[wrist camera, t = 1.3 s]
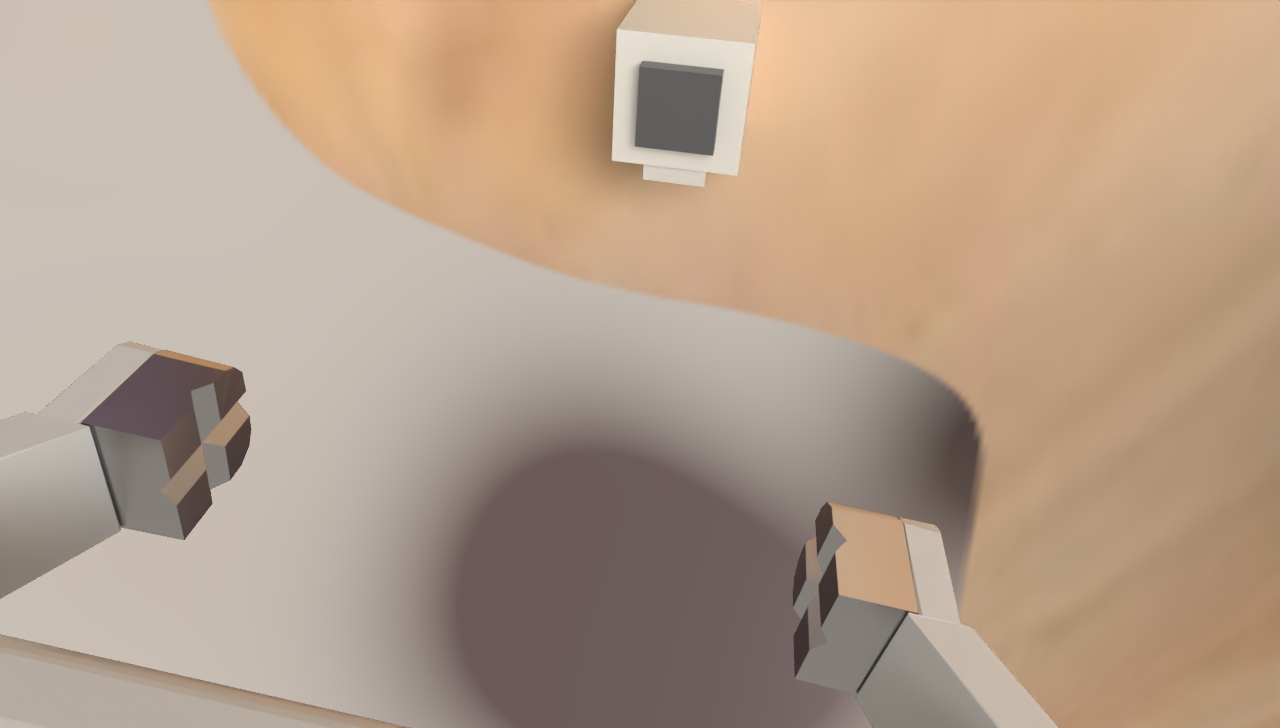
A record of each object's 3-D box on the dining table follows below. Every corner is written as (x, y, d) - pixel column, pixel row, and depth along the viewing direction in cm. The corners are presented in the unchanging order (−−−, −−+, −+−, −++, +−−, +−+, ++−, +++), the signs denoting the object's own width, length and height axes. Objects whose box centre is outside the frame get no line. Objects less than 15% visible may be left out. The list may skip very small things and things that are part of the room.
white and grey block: (763, 1, 27) (754, 49, 23) (744, 135, 30) (733, 201, 26) (644, -10, 28) (613, 34, 23) (636, 123, 30) (607, 186, 26)
